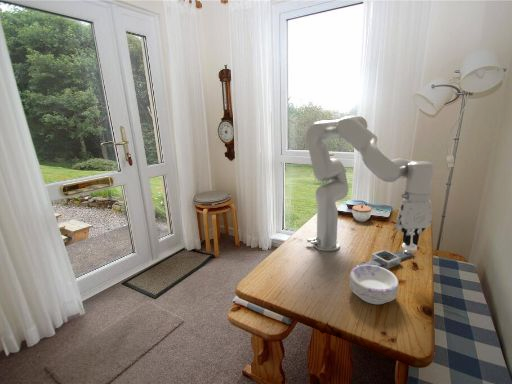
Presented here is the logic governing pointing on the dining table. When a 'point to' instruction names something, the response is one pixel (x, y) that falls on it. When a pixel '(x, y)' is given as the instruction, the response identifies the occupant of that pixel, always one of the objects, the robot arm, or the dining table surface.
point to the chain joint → (394, 258)
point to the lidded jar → (361, 212)
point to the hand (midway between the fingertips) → (410, 243)
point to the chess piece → (411, 246)
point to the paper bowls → (374, 284)
